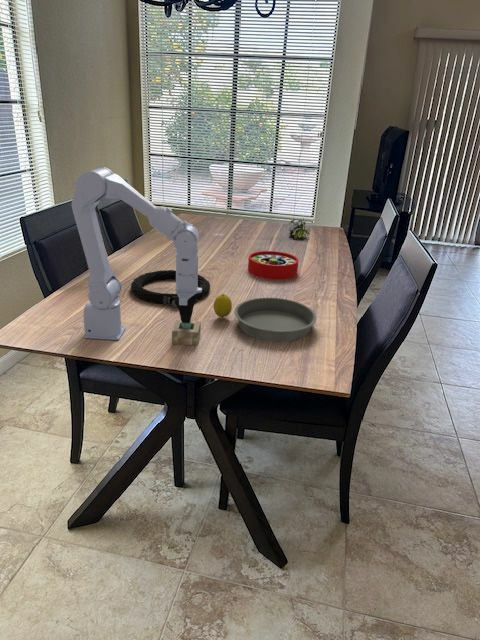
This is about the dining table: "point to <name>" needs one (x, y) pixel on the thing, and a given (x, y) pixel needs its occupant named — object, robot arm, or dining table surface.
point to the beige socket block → (186, 333)
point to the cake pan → (275, 318)
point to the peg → (186, 325)
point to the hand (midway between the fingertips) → (186, 319)
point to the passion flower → (298, 225)
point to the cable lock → (163, 297)
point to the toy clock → (273, 265)
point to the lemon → (222, 305)
